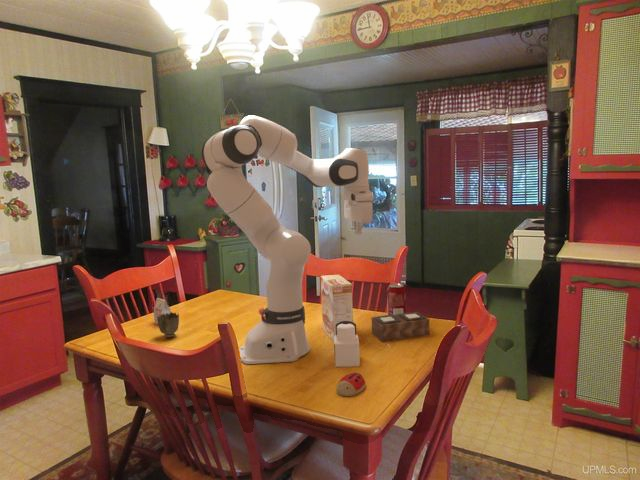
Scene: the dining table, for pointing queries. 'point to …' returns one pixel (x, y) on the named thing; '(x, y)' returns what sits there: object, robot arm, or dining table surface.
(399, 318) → the walnut block
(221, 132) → the robot arm
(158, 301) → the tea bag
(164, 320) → the cup
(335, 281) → the coffeecake box
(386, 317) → the peg near sage
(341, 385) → the ladybug figurine
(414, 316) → the peg far cream
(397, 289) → the soda can
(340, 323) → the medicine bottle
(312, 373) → the dining table surface
